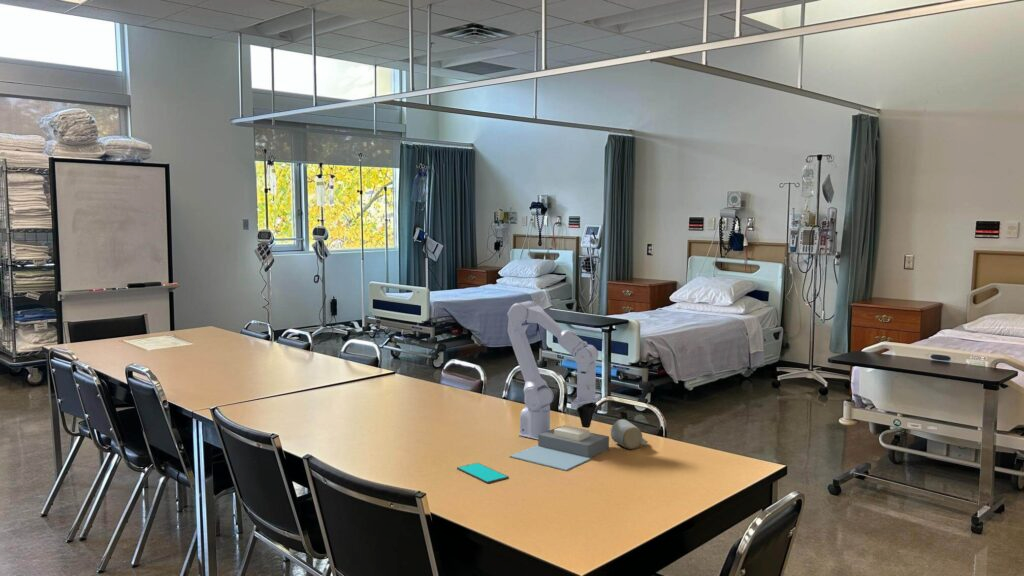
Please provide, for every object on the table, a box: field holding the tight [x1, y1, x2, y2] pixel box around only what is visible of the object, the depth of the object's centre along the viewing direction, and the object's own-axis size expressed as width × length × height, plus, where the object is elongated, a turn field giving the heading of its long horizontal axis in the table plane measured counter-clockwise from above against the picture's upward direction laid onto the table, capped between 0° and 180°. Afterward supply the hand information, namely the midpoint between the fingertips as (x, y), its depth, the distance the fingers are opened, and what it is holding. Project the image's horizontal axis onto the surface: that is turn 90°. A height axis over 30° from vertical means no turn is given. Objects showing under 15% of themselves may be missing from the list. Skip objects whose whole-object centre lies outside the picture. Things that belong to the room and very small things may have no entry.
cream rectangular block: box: [553, 424, 591, 441], centre depth 227 cm, size 9×6×2 cm, turn 52°
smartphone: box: [456, 462, 510, 485], centre depth 205 cm, size 7×1×15 cm
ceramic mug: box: [610, 419, 649, 450], centre depth 231 cm, size 11×8×8 cm
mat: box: [509, 445, 592, 472], centre depth 219 cm, size 20×13×1 cm, turn 52°
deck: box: [537, 426, 610, 459], centre depth 228 cm, size 18×12×4 cm, turn 52°
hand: (585, 427), depth 234 cm, fingers closed
